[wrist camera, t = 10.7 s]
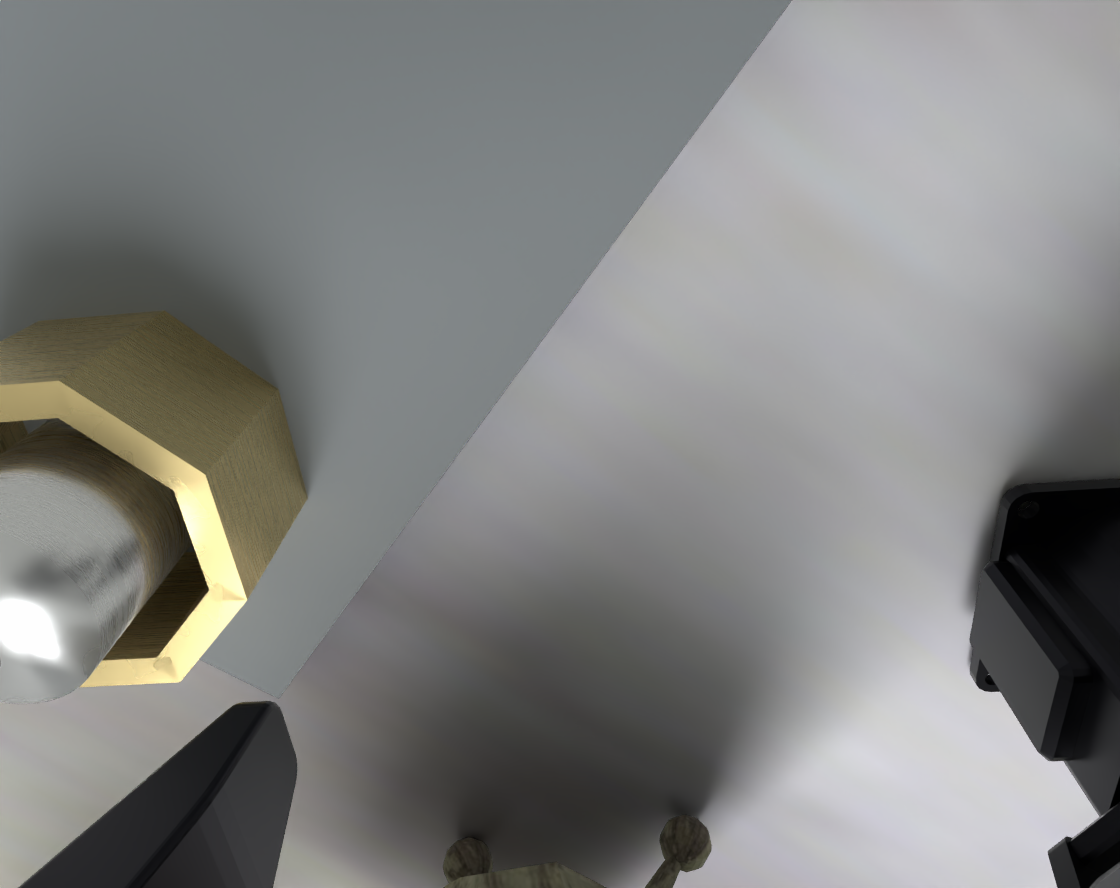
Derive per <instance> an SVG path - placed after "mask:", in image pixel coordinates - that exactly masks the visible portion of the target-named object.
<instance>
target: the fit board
mask: <svg viewBox="0 0 1120 888" xmlns="http://www.w3.org/2000/svg"><path fill="white" fill-rule="evenodd" d="M791 1H792V0H1V1H0V341H2V340H4V339H6V338H8V337H10V336H12V335H13V334H15V333H17V332H19V331H21V330H23V329H25V328H27V327H28V326H30V325H32V324H34V323H36V322H38V321H44V320H56V319H68V318H80V317H92V316H104V315H116V314H128V313H140V312H151V311H163V310H165V311H166V312H167V313H169V314H170V315H172V316H173V317H175V318H176V319H178V320H179V321H180V322H182V323H183V324H185V325H186V326H188V327H189V328H191V329H192V330H193V331H195V332H196V333H198V334H199V335H201V336H202V337H204V338H205V339H206V340H208V341H209V342H211V343H212V344H214V345H215V346H217V347H218V348H219V349H221V350H222V351H224V352H225V353H227V354H228V355H230V356H231V357H232V358H234V359H235V360H237V361H238V362H240V363H241V364H243V365H244V366H246V367H247V368H248V369H250V370H251V371H253V372H254V373H256V374H257V375H259V376H260V377H261V378H263V379H264V380H266V381H267V382H269V383H270V384H272V385H273V386H274V387H276V388H277V389H279V393H280V397H281V400H282V404H283V408H284V411H285V415H286V419H287V422H288V426H289V430H290V433H291V437H292V441H293V444H294V448H295V452H296V456H297V459H298V463H299V467H300V470H301V474H302V478H303V481H304V485H305V489H306V492H307V496H308V499H307V501H306V502H305V504H304V506H303V507H302V509H301V511H300V512H299V514H298V516H297V517H296V519H295V521H294V522H293V524H292V526H291V527H290V529H289V531H288V532H287V534H286V536H285V537H284V539H283V541H282V543H281V544H280V546H279V548H278V549H277V551H276V553H275V554H274V556H273V558H272V559H271V561H270V563H269V564H268V566H267V568H266V569H265V571H264V573H263V574H262V576H261V578H260V579H259V581H258V583H257V584H256V586H255V588H254V589H253V591H252V593H251V595H250V596H249V598H248V600H247V601H246V602H245V603H244V605H243V606H242V607H241V608H240V609H239V611H238V612H237V613H236V614H235V616H234V617H233V618H232V619H231V620H230V622H229V623H228V624H227V625H226V627H225V628H224V629H223V630H222V631H221V633H220V634H219V635H218V636H217V638H216V639H215V640H214V641H213V642H212V644H211V645H210V646H209V647H208V649H207V650H206V651H205V652H204V653H203V655H202V656H201V657H200V658H199V660H201V661H203V662H205V663H207V664H210V665H212V666H214V667H216V668H218V669H220V670H222V671H224V672H226V673H228V674H230V675H232V676H234V677H236V678H238V679H240V680H242V681H244V682H246V683H248V684H250V685H252V686H254V687H256V688H258V689H260V690H262V691H264V692H266V693H268V694H270V695H272V696H274V697H276V698H278V699H279V698H280V696H281V695H282V694H283V692H284V691H285V690H286V688H287V687H288V686H289V684H290V683H291V682H292V680H293V679H294V677H295V676H296V675H297V673H298V672H299V671H300V669H301V668H302V667H303V665H304V664H305V662H306V661H307V660H308V658H309V657H310V656H311V654H312V653H313V652H314V650H315V649H316V647H317V646H318V645H319V643H320V642H321V641H322V639H323V638H324V637H325V635H326V634H327V633H328V631H329V630H330V628H331V627H332V626H333V624H334V623H335V622H336V620H337V619H338V618H339V616H340V615H341V613H342V612H343V611H344V609H345V608H346V607H347V605H348V604H349V603H350V601H351V600H352V599H353V597H354V596H355V594H356V593H357V592H358V590H359V589H360V588H361V586H362V585H363V584H364V582H365V581H366V579H367V578H368V577H369V575H370V574H371V573H372V571H373V570H374V569H375V567H376V566H377V564H378V563H379V562H380V560H381V559H382V558H383V556H384V555H385V554H386V552H387V551H388V550H389V548H390V547H391V545H392V544H393V543H394V541H395V540H396V539H397V537H398V536H399V535H400V533H401V532H402V530H403V529H404V528H405V526H406V525H407V524H408V522H409V521H410V520H411V518H412V517H413V515H414V514H415V513H416V511H417V510H418V509H419V507H420V506H421V505H422V503H423V502H424V501H425V499H426V498H427V496H428V495H429V494H430V492H431V491H432V490H433V488H434V487H435V486H436V484H437V483H438V481H439V480H440V479H441V477H442V476H443V475H444V473H445V472H446V471H447V469H448V468H449V467H450V465H451V464H452V462H453V461H454V460H455V458H456V457H457V456H458V454H459V453H460V452H461V450H462V449H463V447H464V446H465V445H466V443H467V442H468V441H469V439H470V438H471V437H472V435H473V434H474V432H475V431H476V430H477V428H478V427H479V426H480V424H481V423H482V422H483V420H484V419H485V418H486V416H487V415H488V413H489V412H490V411H491V409H492V408H493V407H494V405H495V404H496V403H497V401H498V400H499V398H500V397H501V396H502V394H503V393H504V392H505V390H506V389H507V388H508V386H509V385H510V384H511V382H512V381H513V379H514V378H515V377H516V375H517V374H518V373H519V371H520V370H521V369H522V367H523V366H524V364H525V363H526V362H527V360H528V359H529V358H530V356H531V355H532V354H533V352H534V351H535V349H536V348H537V347H538V345H539V344H540V343H541V341H542V340H543V339H544V337H545V336H546V335H547V333H548V332H549V330H550V329H551V328H552V326H553V325H554V324H555V322H556V321H557V320H558V318H559V317H560V315H561V314H562V313H563V311H564V310H565V309H566V307H567V306H568V305H569V303H570V302H571V301H572V299H573V298H574V296H575V295H576V294H577V292H578V291H579V290H580V288H581V287H582V286H583V284H584V283H585V281H586V280H587V279H588V277H589V276H590V275H591V273H592V272H593V271H594V269H595V268H596V266H597V265H598V264H599V262H600V261H601V260H602V258H603V257H604V256H605V254H606V253H607V252H608V250H609V249H610V247H611V246H612V245H613V243H614V242H615V241H616V239H617V238H618V237H619V235H620V234H621V232H622V231H623V230H624V228H625V227H626V226H627V224H628V223H629V222H630V220H631V219H632V218H633V216H634V215H635V213H636V212H637V211H638V209H639V208H640V207H641V205H642V204H643V203H644V201H645V200H646V198H647V197H648V196H649V194H650V193H651V192H652V190H653V189H654V188H655V186H656V185H657V183H658V182H659V181H660V179H661V178H662V177H663V175H664V174H665V173H666V171H667V170H668V169H669V167H670V166H671V164H672V163H673V162H674V160H675V159H676V158H677V156H678V155H679V154H680V152H681V151H682V149H683V148H684V147H685V145H686V144H687V143H688V141H689V140H690V139H691V137H692V136H693V134H694V133H695V132H696V130H697V129H698V128H699V126H700V125H701V124H702V122H703V121H704V120H705V118H706V117H707V115H708V114H709V113H710V111H711V110H712V109H713V107H714V106H715V105H716V103H717V102H718V100H719V99H720V98H721V96H722V95H723V94H724V92H725V91H726V90H727V88H728V87H729V86H730V84H731V83H732V81H733V80H734V79H735V77H736V76H737V75H738V73H739V72H740V71H741V69H742V68H743V66H744V65H745V64H746V62H747V61H748V60H749V58H750V57H751V56H752V54H753V53H754V51H755V50H756V49H757V47H758V46H759V45H760V43H761V42H762V41H763V39H764V38H765V37H766V35H767V34H768V32H769V31H770V30H771V28H772V27H773V26H774V24H775V23H776V22H777V20H778V19H779V17H780V16H781V15H782V13H783V12H784V11H785V9H786V8H787V7H788V5H789V4H790V3H791ZM23 423H24V425H25V428H26V430H27V432H28V435H27V436H25V437H24V438H23V439H21V440H20V441H18V442H17V443H16V444H14V445H13V446H12V447H10V448H9V449H7V450H6V451H5V452H3V453H2V454H1V455H0V702H3V703H12V704H30V703H40V702H46V701H50V700H54V699H57V698H60V697H62V696H65V695H67V694H69V693H71V692H72V691H74V690H75V689H77V688H78V687H80V686H81V685H82V684H83V683H84V682H85V681H86V680H87V679H88V678H89V677H90V675H91V674H92V673H93V671H94V670H95V669H96V667H97V666H98V665H99V664H100V662H101V661H102V660H103V658H104V657H105V656H106V654H107V653H108V652H109V651H110V649H111V648H112V647H113V645H114V644H115V643H116V641H117V640H118V639H119V638H120V636H121V635H122V634H123V632H124V631H125V630H126V628H127V627H128V626H129V625H130V623H131V622H132V621H133V619H134V618H135V617H136V615H137V614H138V613H139V612H140V610H141V609H142V608H143V606H144V605H145V604H146V602H147V601H148V600H149V599H150V597H151V596H152V595H153V593H154V592H155V591H156V589H157V588H158V587H159V586H160V584H161V583H162V582H163V580H164V579H165V578H166V576H167V575H168V574H169V573H170V571H171V570H172V569H173V567H174V566H175V565H176V563H177V562H178V561H179V560H180V558H181V557H182V556H183V554H184V553H185V552H196V551H195V549H194V546H193V543H192V540H191V537H190V535H189V532H188V529H187V526H186V523H185V521H184V518H183V515H182V512H181V509H180V507H179V504H178V501H177V498H176V495H175V493H174V490H172V489H170V488H169V487H167V486H166V485H164V484H162V483H161V482H159V481H158V480H156V479H154V478H153V477H151V476H150V475H148V474H146V473H145V472H143V471H142V470H140V469H138V468H137V467H135V466H134V465H132V464H131V463H129V462H127V461H126V460H124V459H123V458H121V457H119V456H118V455H116V454H115V453H113V452H111V451H110V450H108V449H107V448H105V447H103V446H102V445H100V444H99V443H97V442H95V441H94V440H92V439H91V438H89V437H88V436H86V435H84V434H83V433H81V432H80V431H78V430H76V429H75V428H73V427H72V426H70V425H68V424H67V423H65V422H64V421H62V420H60V419H59V418H50V419H37V420H24V421H23Z"/></svg>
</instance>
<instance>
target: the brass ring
mask: <svg viewBox="0 0 1120 888" xmlns="http://www.w3.org/2000/svg"><path fill="white" fill-rule="evenodd" d="M50 418H59V419H60V420H62V421H64V422H65V423H67V424H68V425H70V426H72V427H73V428H75V429H76V430H78V431H80V432H81V433H83V434H84V435H86V436H88V437H89V438H91V439H92V440H94V441H95V442H97V443H99V444H100V445H102V446H103V447H105V448H107V449H108V450H110V451H111V452H113V453H115V454H116V455H118V456H119V457H121V458H123V459H124V460H126V461H127V462H129V463H131V464H132V465H134V466H135V467H137V468H138V469H140V470H142V471H143V472H145V473H146V474H148V475H150V476H151V477H153V478H154V479H156V480H158V481H159V482H161V483H162V484H164V485H166V486H167V487H169V488H170V489H172V490H174V493H175V495H176V498H177V501H178V504H179V507H180V509H181V512H182V515H183V518H184V521H185V523H186V526H187V529H188V532H189V535H190V537H191V540H192V543H193V546H194V549H195V551H196V552H185V553H184V554H183V556H182V557H181V558H180V560H179V561H178V562H177V563H176V565H175V566H174V567H173V569H172V570H171V571H170V573H169V574H168V575H167V576H166V578H165V579H164V580H163V582H162V583H161V584H160V586H159V587H158V588H157V589H156V591H155V592H154V593H153V595H152V596H151V597H150V599H149V600H148V601H147V602H146V604H145V605H144V606H143V608H142V609H141V610H140V612H139V613H138V614H137V615H136V617H135V618H134V619H133V621H132V622H131V623H130V625H129V626H128V627H127V628H126V630H125V631H124V632H123V634H122V635H121V636H120V638H119V639H118V640H117V641H116V643H115V644H114V645H113V647H112V648H111V649H110V651H109V652H108V653H107V654H106V656H105V657H104V658H103V660H102V661H101V662H100V664H99V665H98V666H97V667H96V669H95V670H94V671H93V673H92V674H91V675H90V677H89V678H88V679H87V680H86V681H85V682H84V683H83V684H82V685H81V686H80V687H95V686H115V685H134V684H154V683H174V682H181V680H182V679H183V678H184V677H185V675H186V674H187V673H188V672H189V671H190V669H191V668H192V667H193V666H194V664H195V663H196V662H197V661H198V660H199V658H200V657H201V656H202V655H203V653H204V652H205V651H206V650H207V649H208V647H209V646H210V645H211V644H212V642H213V641H214V640H215V639H216V638H217V636H218V635H219V634H220V633H221V631H222V630H223V629H224V628H225V627H226V625H227V624H228V623H229V622H230V620H231V619H232V618H233V617H234V616H235V614H236V613H237V612H238V611H239V609H240V608H241V607H242V606H243V605H244V603H245V602H246V601H247V600H248V598H249V596H250V595H251V593H252V591H253V589H254V588H255V586H256V584H257V583H258V581H259V579H260V578H261V576H262V574H263V573H264V571H265V569H266V568H267V566H268V564H269V563H270V561H271V559H272V558H273V556H274V554H275V553H276V551H277V549H278V548H279V546H280V544H281V543H282V541H283V539H284V537H285V536H286V534H287V532H288V531H289V529H290V527H291V526H292V524H293V522H294V521H295V519H296V517H297V516H298V514H299V512H300V511H301V509H302V507H303V506H304V504H305V502H306V501H307V499H308V496H307V492H306V489H305V485H304V481H303V478H302V474H301V470H300V467H299V463H298V459H297V456H296V452H295V448H294V444H293V441H292V437H291V433H290V430H289V426H288V422H287V419H286V415H285V411H284V408H283V404H282V400H281V397H280V393H279V389H277V388H276V387H274V386H273V385H272V384H270V383H269V382H267V381H266V380H264V379H263V378H261V377H260V376H259V375H257V374H256V373H254V372H253V371H251V370H250V369H248V368H247V367H246V366H244V365H243V364H241V363H240V362H238V361H237V360H235V359H234V358H232V357H231V356H230V355H228V354H227V353H225V352H224V351H222V350H221V349H219V348H218V347H217V346H215V345H214V344H212V343H211V342H209V341H208V340H206V339H205V338H204V337H202V336H201V335H199V334H198V333H196V332H195V331H193V330H192V329H191V328H189V327H188V326H186V325H185V324H183V323H182V322H180V321H179V320H178V319H176V318H175V317H173V316H172V315H170V314H169V313H167V312H166V311H165V310H163V311H151V312H140V313H128V314H116V315H104V316H92V317H80V318H68V319H56V320H44V321H38V322H36V323H34V324H32V325H30V326H28V327H27V328H25V329H23V330H21V331H19V332H17V333H15V334H13V335H12V336H10V337H8V338H6V339H4V340H2V341H0V455H1V454H2V453H3V452H5V451H6V450H7V449H9V448H10V447H12V446H13V445H14V444H16V443H17V442H18V441H20V440H21V439H23V438H24V437H25V436H27V435H28V432H27V430H26V428H25V425H24V423H23V421H24V420H37V419H50Z"/></svg>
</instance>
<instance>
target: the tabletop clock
mask: <svg viewBox="0 0 1120 888" xmlns="http://www.w3.org/2000/svg"><path fill="white" fill-rule="evenodd" d="M660 845H661V849H662V853H663V856H664V859H665V861H664V862H663V864H662V865H661V866H660V868H659V869H658V870H657V872H656V873H655V874H654V876H653V877H652V879H651V880H650V881H649V883H648V884H647V885H646V887H645V888H673V885H674V883H675V881H676V878H677V876H678V874H679V871H680V870H682V871H685V872H689V871H692V870H696V869H699V868H701V867H702V866H703V865H704V863H705V861H706V859H707V858H708V856H709V854H710V852H711V846H712V845H711V841H710V836H709V832H708V830H707V828H706V827H705V826H704V825H703V824H702V823H701V822H700V821H699V820H698V819H697V818H695V817H691V816H688V815H685V814H684V815H681V816H678V817H675V818H672V819H670V820H669V821H668V822H667V823H666V825H665V827H664V829H663V831H662V833H661V835H660ZM492 868H493V861H492V857H491V855H490V852H489V850H488V847H487V846H486V845H485V843H484V842H482V841H479V840H476V839H473V838H470V837H468V838H465V839H462V840H458V841H457V842H455V843H454V844H453V845H452V846H451V847H450V848H449V849H448V851H447V854H446V857H445V860H444V864H443V870H444V873H445V876H446V878H447V880H448V882H449V884H447V885H446V886H445V887H443V888H606V887H604V886H602V885H600V884H598V883H597V882H595V881H593V880H591V879H589V878H587V877H585V876H583V875H581V874H579V873H577V872H575V871H573V870H571V869H569V868H567V867H565V866H563V865H562V864H560V863H558V862H552V863H546V864H540V865H534V866H527V867H521V868H515V869H509V870H502V871H496V872H491V871H492Z"/></svg>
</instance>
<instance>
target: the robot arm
mask: <svg viewBox="0 0 1120 888" xmlns="http://www.w3.org/2000/svg"><path fill="white" fill-rule="evenodd" d="M1028 501H1031V503H1030V505H1029V506H1028V507H1027V508H1025V509H1022V510H1018V509H1019V507H1020V506H1021V505H1022V504H1023V503H1025V502H1028ZM970 643H971V645H972V647H973V648H974V649H973V654H972V660H971V665H970V675H971V676H972V678H973V680H974V681H975V683H976V685H977V686H978V687H979V689H982V690H984V691H989V692H999V691H1000V692H1001V693H1002V695H1003V697H1004V698H1005V700H1006V701H1007V703H1008V705H1009V706H1010V708H1011V709H1012V711H1013V713H1014V714H1015V716H1016V718H1017V719H1018V721H1019V722H1020V724H1021V726H1022V727H1023V729H1024V730H1025V732H1026V734H1027V735H1028V737H1029V738H1030V740H1031V742H1032V743H1033V745H1034V747H1035V748H1036V750H1037V751H1038V752H1039V753H1040V754H1041V755H1042V756H1043V757H1045V758H1046V759H1047V760H1048V761H1064V762H1065V764H1066V766H1067V767H1068V769H1069V770H1070V772H1071V773H1072V775H1073V776H1074V778H1075V779H1076V781H1077V783H1078V784H1079V786H1080V787H1081V789H1082V790H1083V792H1084V793H1085V795H1086V796H1087V798H1088V800H1089V801H1090V803H1091V804H1092V806H1093V807H1094V809H1095V810H1096V812H1097V813H1098V815H1099V816H1100V817H1099V818H1098V819H1097V820H1095V821H1094V822H1093V823H1092V824H1090V825H1089V826H1088V827H1086V828H1085V829H1084V830H1082V831H1081V832H1080V833H1079V834H1077V835H1076V836H1075V837H1073V838H1071V837H1065V838H1064V839H1063V840H1061V841H1060V842H1059V843H1058V844H1056V845H1055V846H1054V847H1052V848H1051V849H1050V850H1049V851H1048V856H1049V859H1050V863H1051V866H1052V870H1053V873H1054V877H1055V880H1056V884H1057V887H1058V888H1120V479H1107V480H1090V481H1072V482H1055V483H1037V484H1023V485H1019V486H1015V487H1014V488H1012V489H1010V490H1009V491H1008V492H1007V493H1006V494H1005V495H1004V496H1003V498H1002V500H1001V503H1000V508H999V514H998V519H997V525H996V530H995V535H994V541H993V546H992V552H991V557H990V562H988V563H987V564H986V566H985V567H984V568H983V570H982V573H981V579H980V584H979V590H978V595H977V601H976V606H975V612H974V617H973V623H972V629H971V634H970ZM988 674H990V675H988ZM296 778H297V759H296V754H295V751H294V748H293V745H292V742H291V739H290V736H289V733H288V730H287V726H286V723H285V720H284V717H283V714H282V711H281V709H280V707H279V706H278V705H277V704H276V703H275V702H271V701H261V702H242V703H238V704H235V705H233V706H232V707H231V708H229V709H228V710H227V711H226V712H224V713H223V714H222V715H221V716H220V717H218V718H217V719H216V720H215V721H214V722H213V723H211V724H210V725H209V726H208V727H207V728H206V729H204V730H203V731H202V732H201V733H200V734H198V735H197V736H196V737H195V738H194V739H193V740H191V741H190V742H189V743H188V744H187V745H186V746H184V747H183V748H182V749H181V750H180V751H178V752H177V753H176V754H175V755H174V756H173V757H171V758H170V759H169V760H168V761H167V762H166V763H164V764H163V765H162V766H161V767H160V768H158V769H157V770H156V771H155V772H154V773H153V774H151V775H150V776H149V777H148V778H147V779H146V780H144V781H143V782H142V783H141V784H140V785H138V786H137V787H136V788H135V789H134V790H133V791H131V792H130V793H129V794H128V795H127V796H125V797H124V798H123V799H122V800H121V801H120V802H118V803H117V804H116V805H115V806H114V807H113V808H111V809H110V810H109V811H108V812H107V813H105V814H104V815H103V816H102V817H101V818H100V819H98V820H97V821H96V822H95V823H94V824H93V825H91V826H90V827H89V828H88V829H87V830H85V831H84V832H83V833H82V834H81V835H80V836H78V837H77V838H76V839H75V840H74V841H73V842H71V843H70V844H69V845H68V846H67V847H65V848H64V849H63V850H62V851H61V852H60V853H58V854H57V855H56V856H55V857H54V858H52V859H51V860H50V861H49V862H48V863H47V864H45V865H44V866H43V867H42V868H41V869H40V870H38V871H37V872H36V873H35V874H34V875H32V876H31V877H30V878H29V879H28V880H27V881H25V882H24V883H23V884H22V885H21V886H20V887H18V888H273V884H274V880H275V875H276V871H277V866H278V862H279V857H280V852H281V848H282V843H283V839H284V834H285V829H286V825H287V820H288V816H289V811H290V806H291V802H292V797H293V793H294V788H295V784H296Z"/></svg>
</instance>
